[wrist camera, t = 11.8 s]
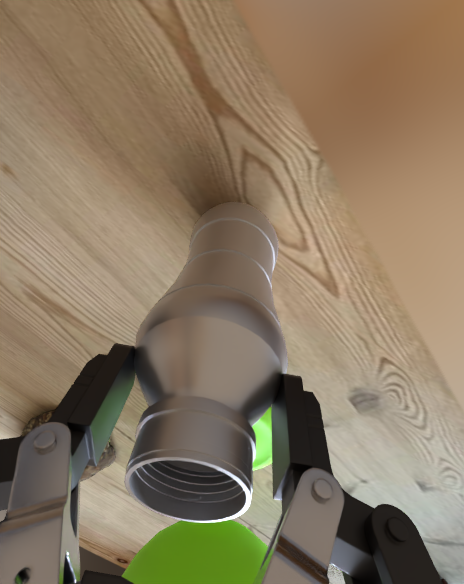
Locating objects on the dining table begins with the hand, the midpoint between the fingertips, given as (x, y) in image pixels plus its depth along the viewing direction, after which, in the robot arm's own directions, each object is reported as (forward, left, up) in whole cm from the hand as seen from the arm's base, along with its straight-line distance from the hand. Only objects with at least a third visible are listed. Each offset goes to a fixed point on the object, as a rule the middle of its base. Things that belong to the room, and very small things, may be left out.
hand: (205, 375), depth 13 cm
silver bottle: (0, 0, -16) cm, 16 cm away
